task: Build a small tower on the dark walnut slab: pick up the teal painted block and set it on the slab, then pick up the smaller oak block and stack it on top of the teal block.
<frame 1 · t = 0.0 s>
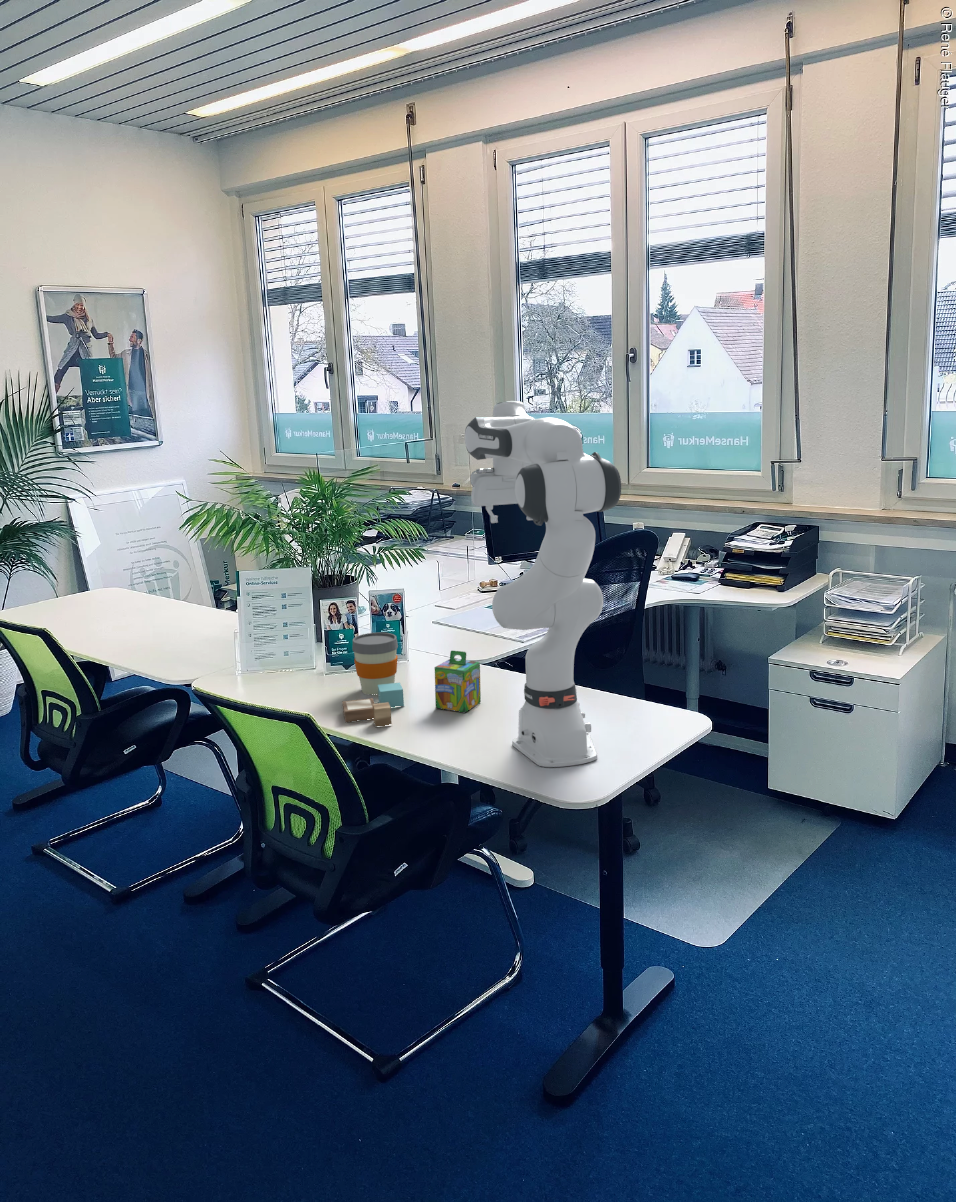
hand: (512, 521, 244), 48 cm above the table, tool pointing down, fingers open, 8 cm apart
teal block: (391, 704, 256), on the table
oak block: (382, 724, 242), on the table
chalk box: (458, 706, 253), on the table
reusable coffee cup: (378, 690, 268), on the table
walnut slab: (359, 715, 249), on the table
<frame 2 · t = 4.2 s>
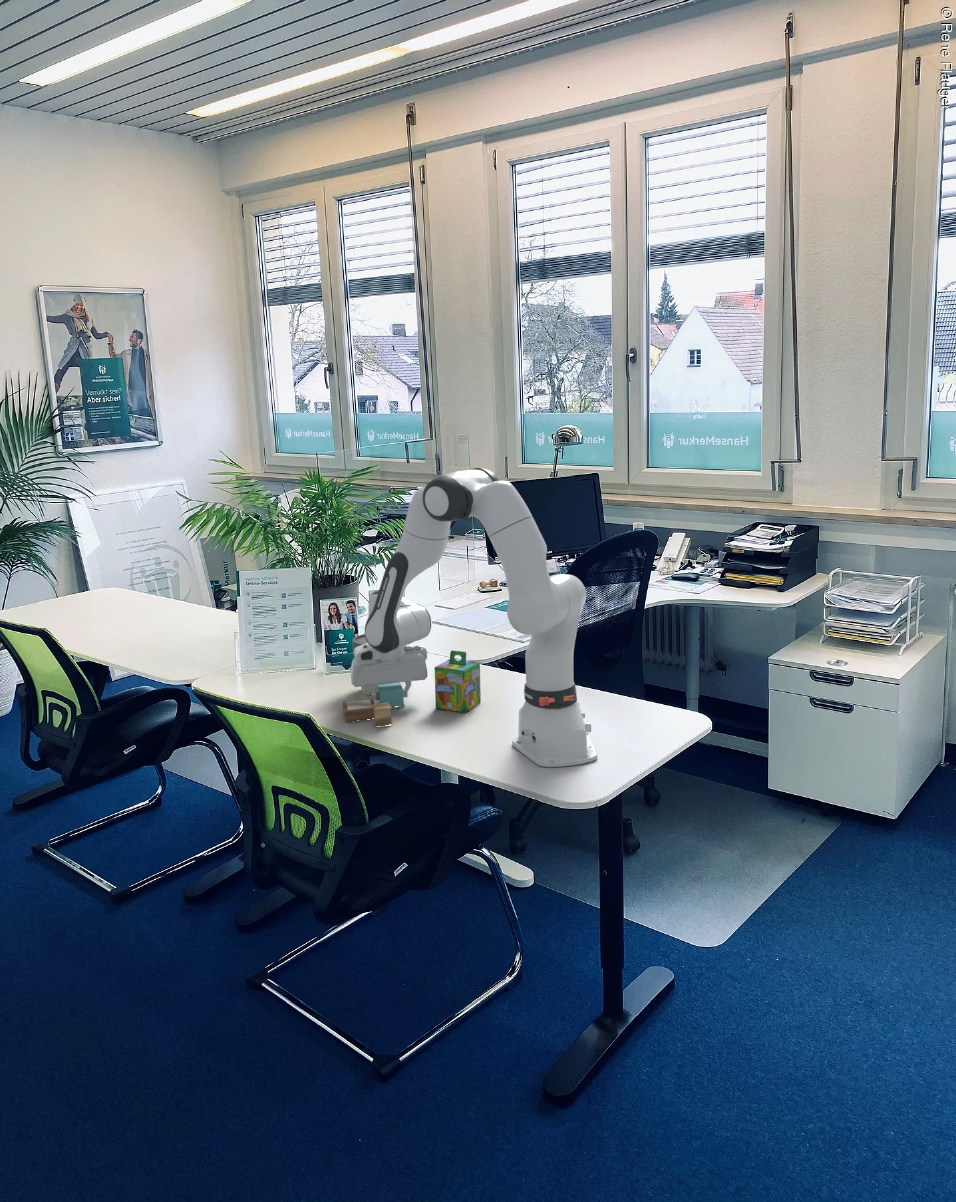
hand: (390, 698, 256), 2 cm above the table, tool pointing down, fingers closed on teal block, 6 cm apart
teal block: (391, 704, 256), on the table, touching gripper
everything else where it was.
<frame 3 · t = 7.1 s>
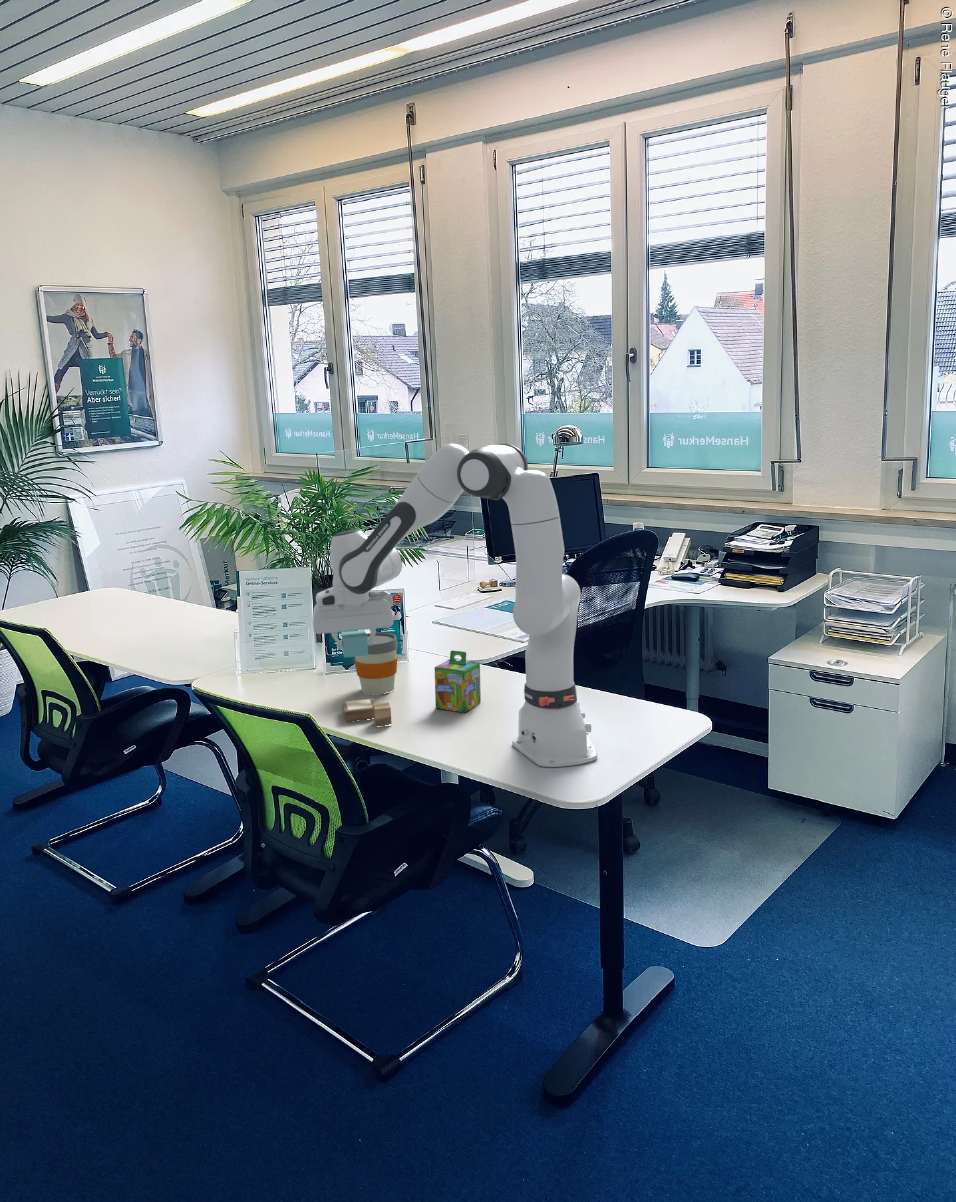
hand: (354, 646, 244), 19 cm above the table, tool pointing down, fingers closed on teal block, 6 cm apart
teal block: (355, 653, 245), point 17 cm above the table, touching gripper
everything else where it was.
when the fingers open (6 cm above the table, at t = 9.9 s): teal block stays where it is, resting on walnut slab.
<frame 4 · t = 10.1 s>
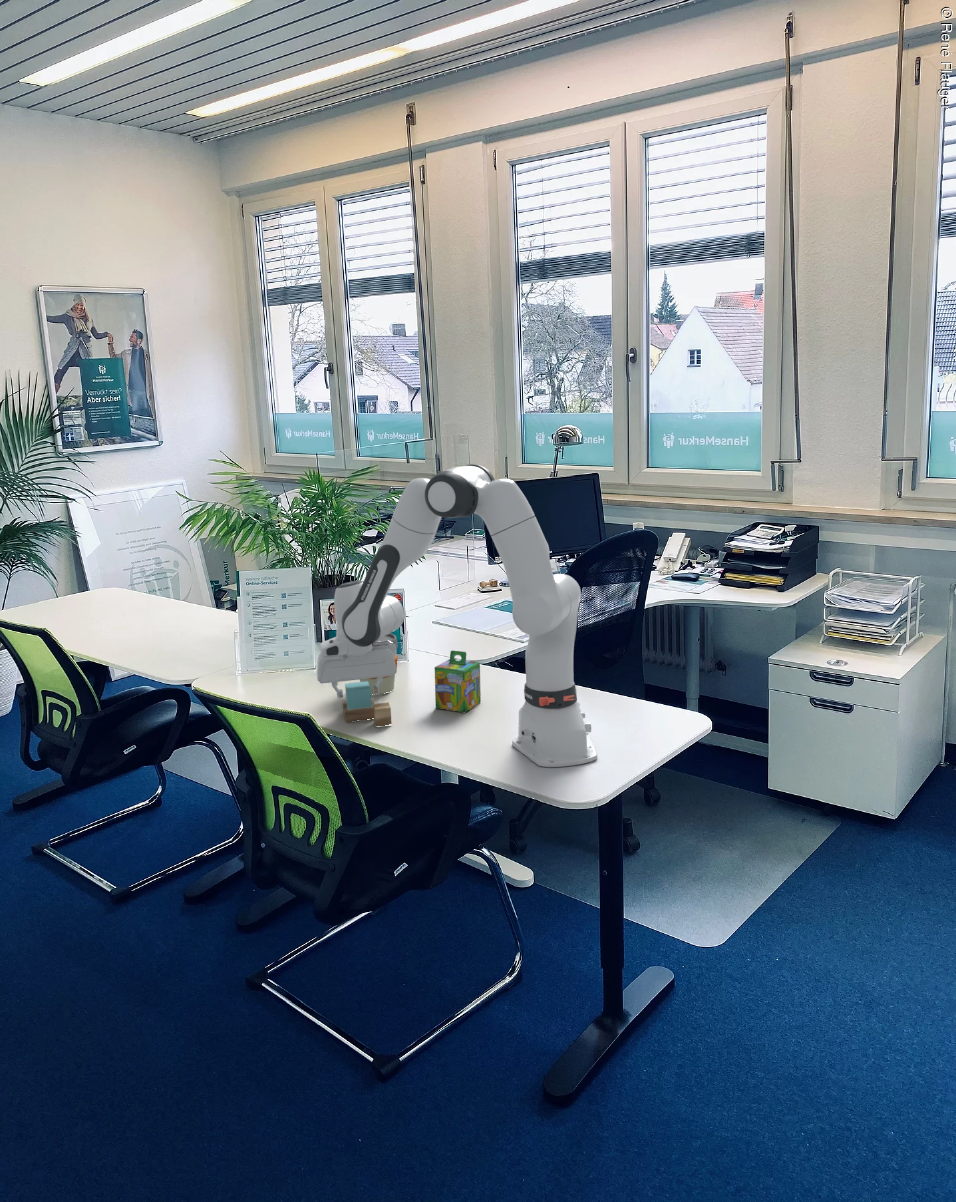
hand: (358, 695, 247), 6 cm above the table, tool pointing down, fingers open, 8 cm apart
teal block: (359, 704, 248), point 3 cm above the table, touching walnut slab
everything else where it was.
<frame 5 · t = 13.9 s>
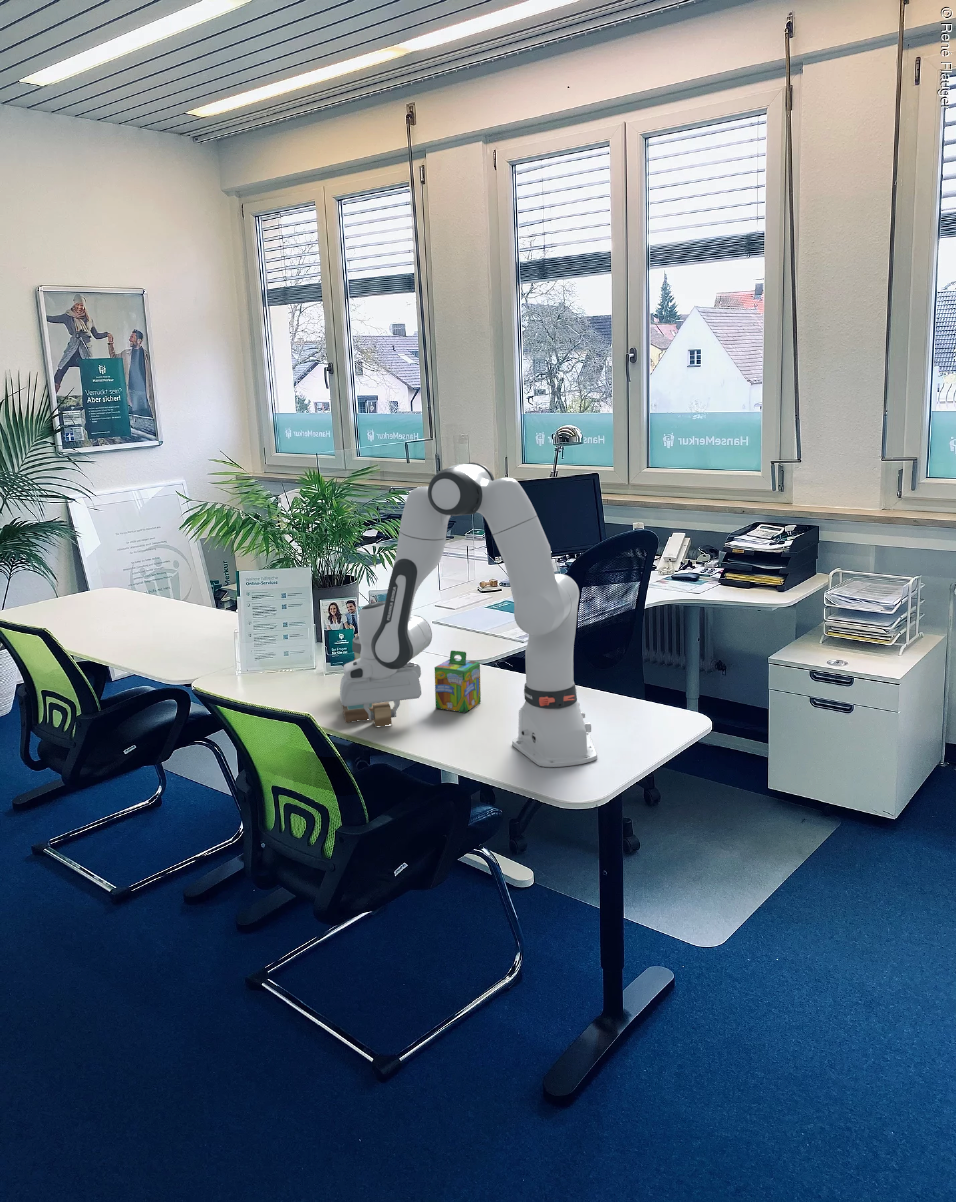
hand: (382, 717, 242), 2 cm above the table, tool pointing down, fingers closed on oak block, 4 cm apart
oak block: (382, 724, 242), on the table, touching gripper
everything else where it was.
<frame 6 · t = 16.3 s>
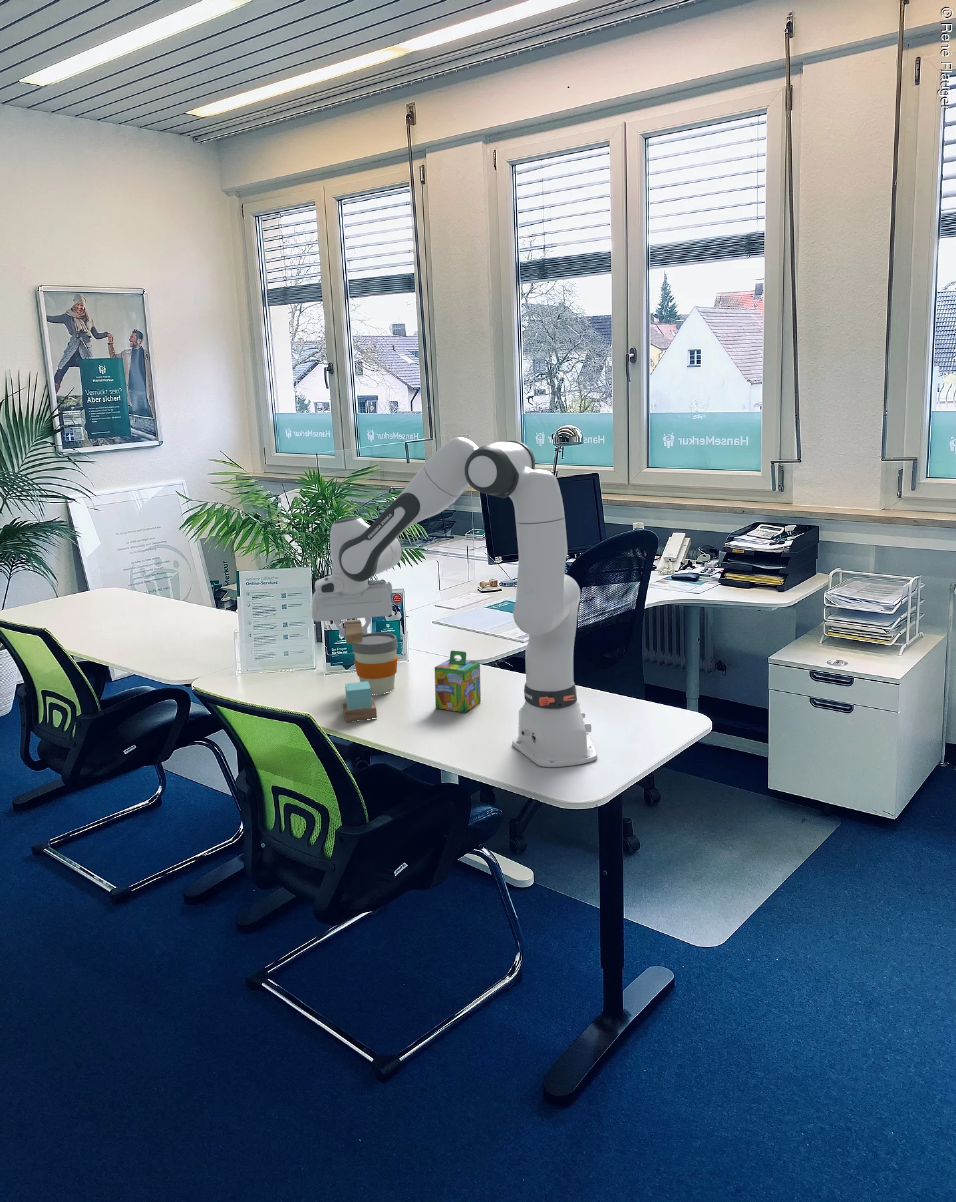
hand: (353, 635, 243), 22 cm above the table, tool pointing down, fingers closed on oak block, 4 cm apart
oak block: (353, 641, 244), point 20 cm above the table, touching gripper
everything else where it was.
when the fingers open (11 cm above the table, at t = 18.6 s): oak block stays where it is, resting on teal block.
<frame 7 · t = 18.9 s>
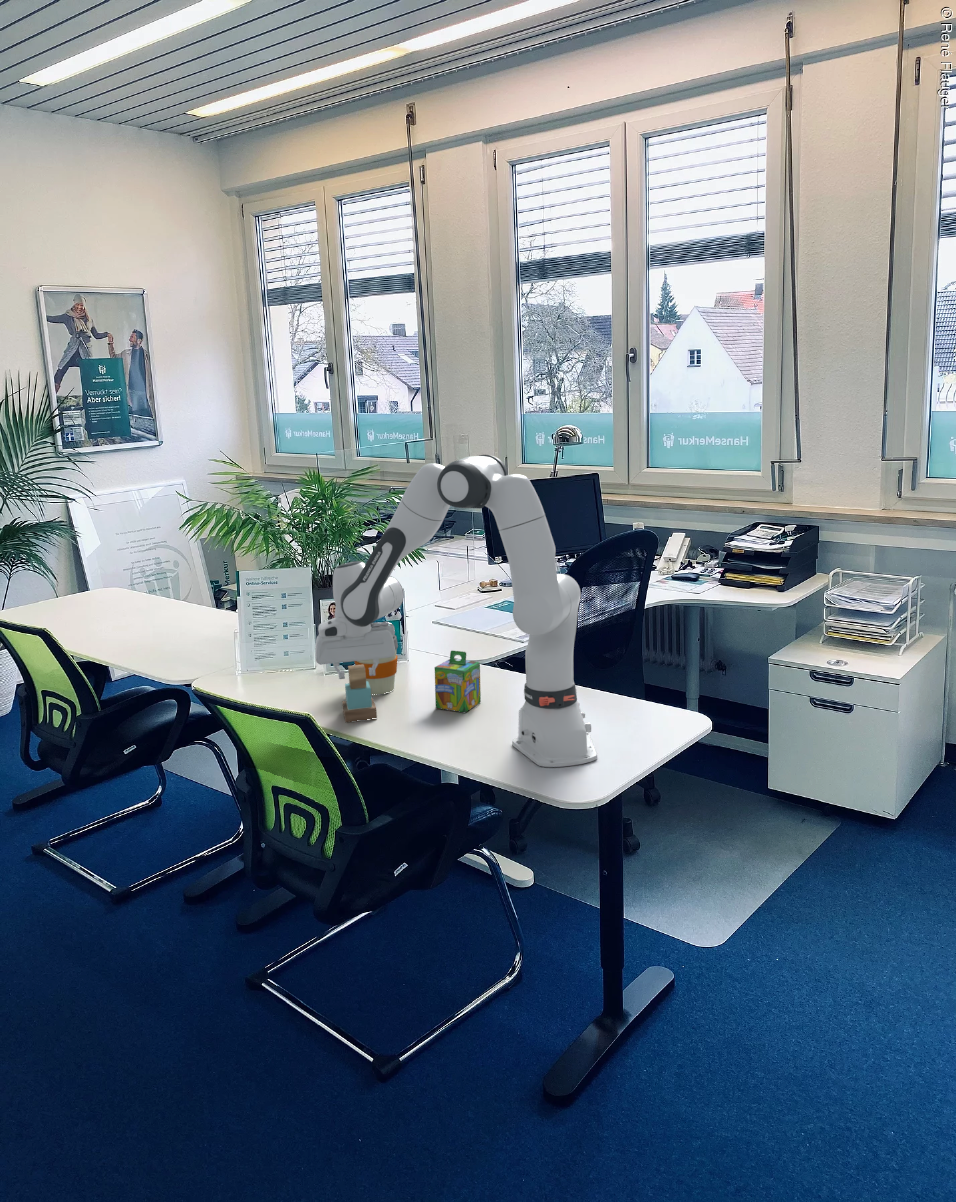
hand: (357, 676, 246), 11 cm above the table, tool pointing down, fingers open, 6 cm apart
teal block: (359, 704, 248), point 3 cm above the table, touching oak block, walnut slab
oak block: (357, 685, 247), point 8 cm above the table, touching teal block
everything else where it was.
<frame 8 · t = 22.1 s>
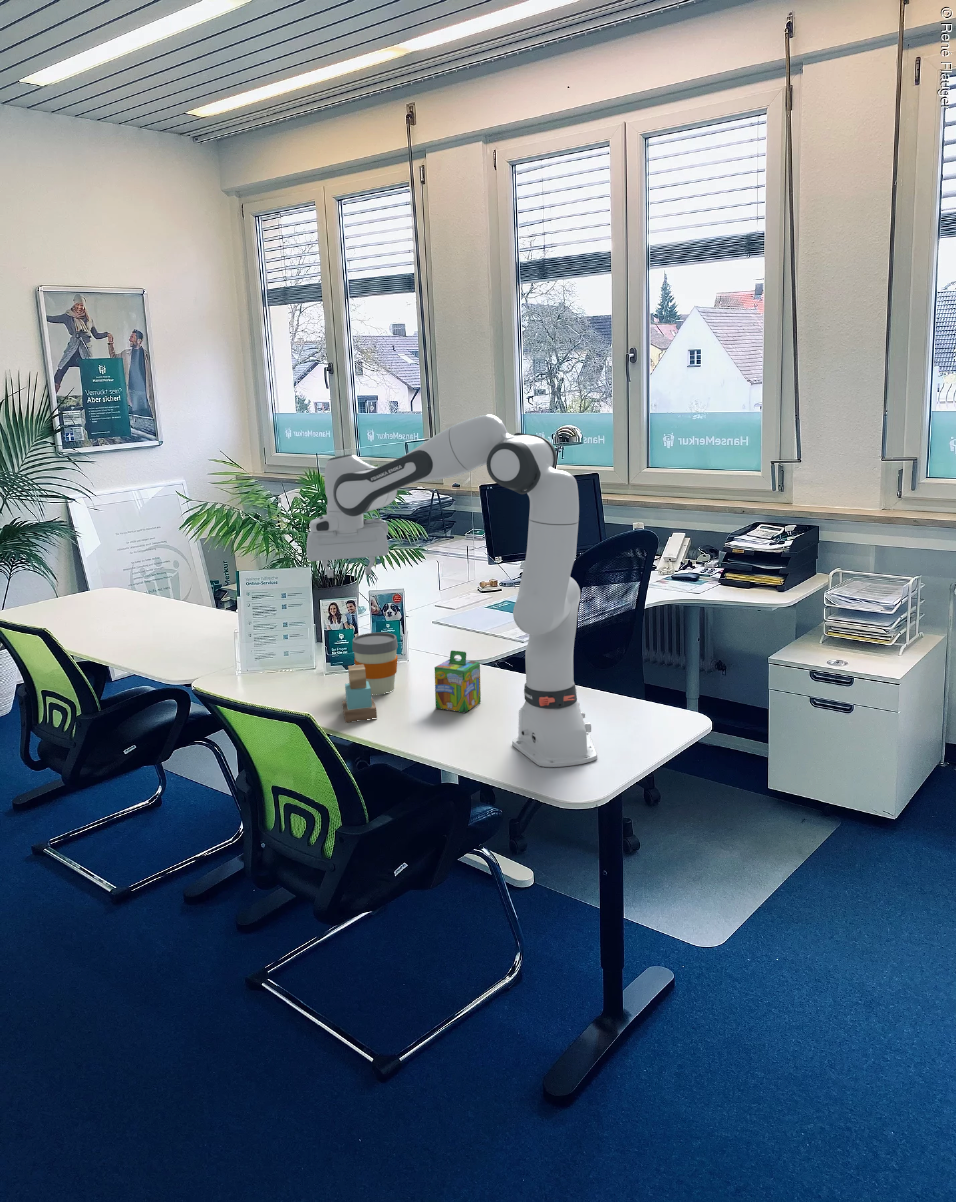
hand: (349, 575, 240), 37 cm above the table, tool pointing down, fingers open, 8 cm apart
nothing on the table moved.
at the end: teal block 0.0 cm off-centre on the walnut slab, point 3.1 cm above the walnut slab's base; oak block 0.1 cm off-centre on the teal block, point 5.0 cm above the teal block's base; oak block tilted 0° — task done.
